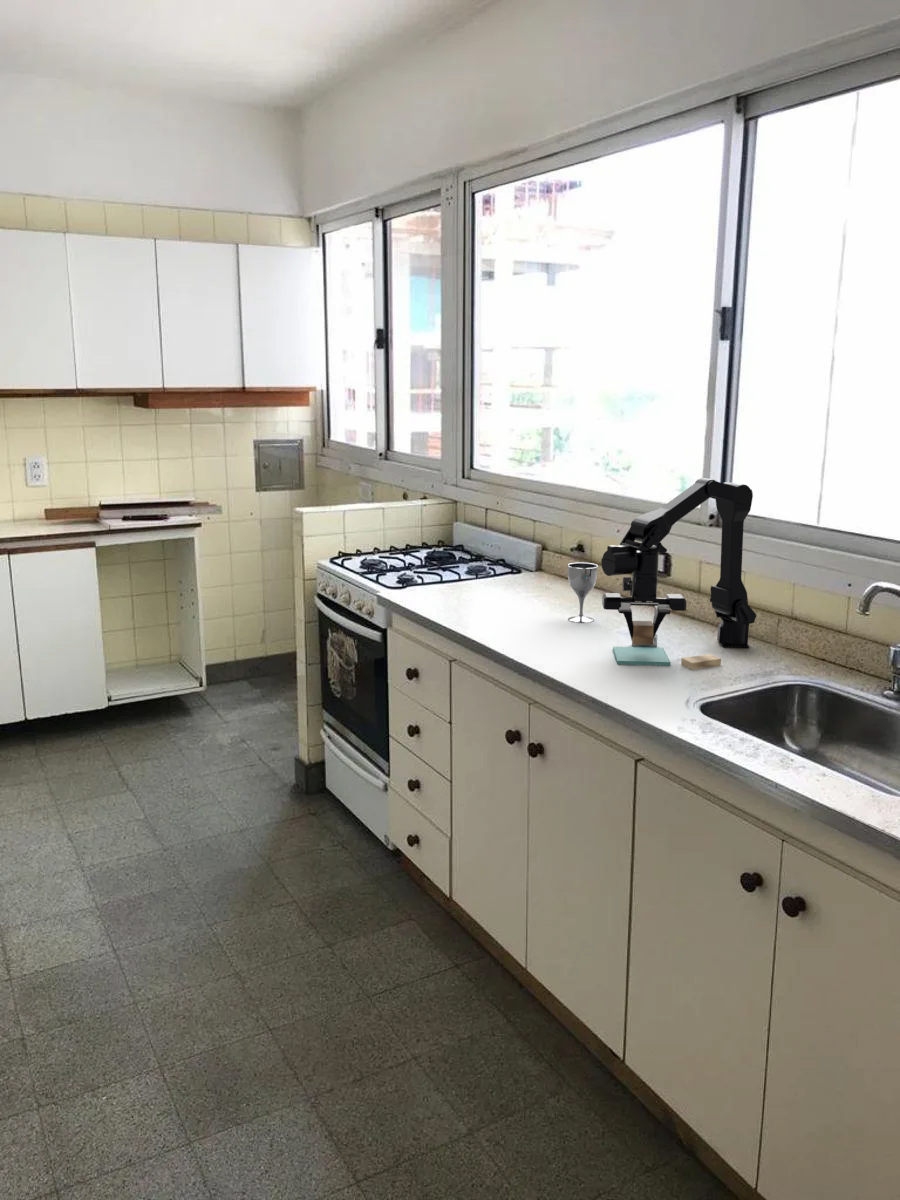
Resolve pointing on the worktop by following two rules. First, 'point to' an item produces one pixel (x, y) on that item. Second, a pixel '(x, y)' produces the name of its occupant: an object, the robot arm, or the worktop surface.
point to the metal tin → (646, 644)
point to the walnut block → (643, 632)
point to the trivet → (641, 656)
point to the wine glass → (582, 585)
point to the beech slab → (701, 661)
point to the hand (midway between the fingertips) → (642, 637)
